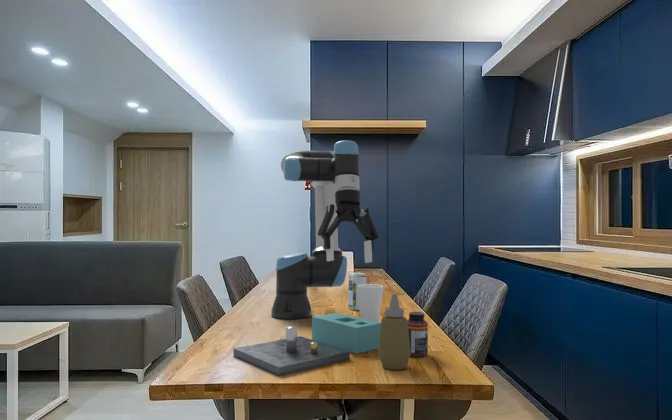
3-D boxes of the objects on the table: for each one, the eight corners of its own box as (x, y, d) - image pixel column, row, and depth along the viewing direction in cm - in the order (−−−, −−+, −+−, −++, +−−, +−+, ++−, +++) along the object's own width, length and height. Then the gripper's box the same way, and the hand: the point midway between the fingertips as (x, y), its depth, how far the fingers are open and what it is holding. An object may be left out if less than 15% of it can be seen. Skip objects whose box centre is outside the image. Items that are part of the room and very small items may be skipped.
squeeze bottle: (388, 373, 119) (388, 297, 119) (372, 364, 126) (372, 292, 127) (417, 369, 122) (417, 295, 122) (399, 361, 129) (400, 291, 130)
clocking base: (233, 355, 133) (233, 325, 134) (300, 343, 148) (300, 315, 148) (279, 376, 117) (279, 341, 117) (350, 359, 131) (350, 328, 131)
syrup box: (347, 308, 205) (347, 272, 206) (360, 307, 208) (360, 272, 208) (353, 310, 200) (353, 274, 201) (366, 309, 203) (366, 273, 203)
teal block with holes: (311, 339, 152) (311, 316, 152) (337, 335, 158) (337, 312, 158) (356, 353, 136) (356, 327, 136) (382, 347, 143) (382, 323, 143)
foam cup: (381, 326, 171) (381, 288, 172) (354, 324, 173) (354, 287, 173) (384, 320, 181) (384, 284, 181) (358, 319, 182) (358, 283, 183)
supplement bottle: (404, 351, 139) (404, 310, 139) (426, 351, 138) (426, 310, 139) (406, 357, 133) (406, 314, 133) (429, 357, 132) (429, 315, 133)
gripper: (318, 183, 141) (320, 258, 137) (387, 193, 155) (391, 261, 150) (305, 189, 148) (306, 261, 143) (372, 198, 161) (375, 264, 157)
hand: (349, 261), depth 147 cm, fingers open, 13 cm apart
